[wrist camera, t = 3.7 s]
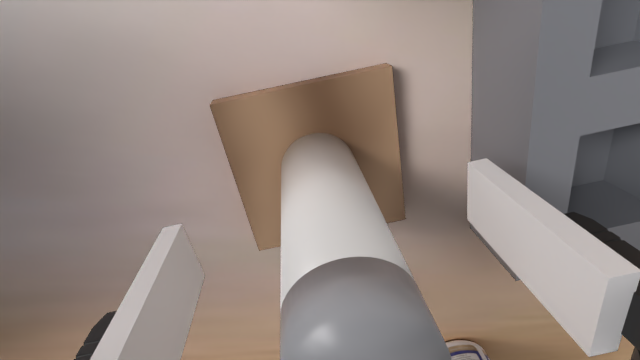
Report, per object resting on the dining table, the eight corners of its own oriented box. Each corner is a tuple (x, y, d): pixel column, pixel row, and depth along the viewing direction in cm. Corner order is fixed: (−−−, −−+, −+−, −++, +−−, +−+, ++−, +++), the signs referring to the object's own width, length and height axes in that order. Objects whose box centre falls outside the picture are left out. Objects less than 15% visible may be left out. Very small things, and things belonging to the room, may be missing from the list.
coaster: (259, 240, 22) (259, 250, 21) (213, 100, 18) (209, 104, 17) (400, 210, 22) (405, 219, 21) (386, 63, 18) (392, 66, 17)
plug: (290, 206, 20) (300, 445, 9) (273, 141, 18) (259, 342, 7) (359, 192, 20) (453, 412, 9) (349, 125, 18) (449, 301, 7)
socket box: (470, 227, 23) (518, 283, 18) (474, -117, 15) (564, -175, 10) (620, 195, 23) (707, 242, 18) (708, -166, 15) (906, -247, 10)
